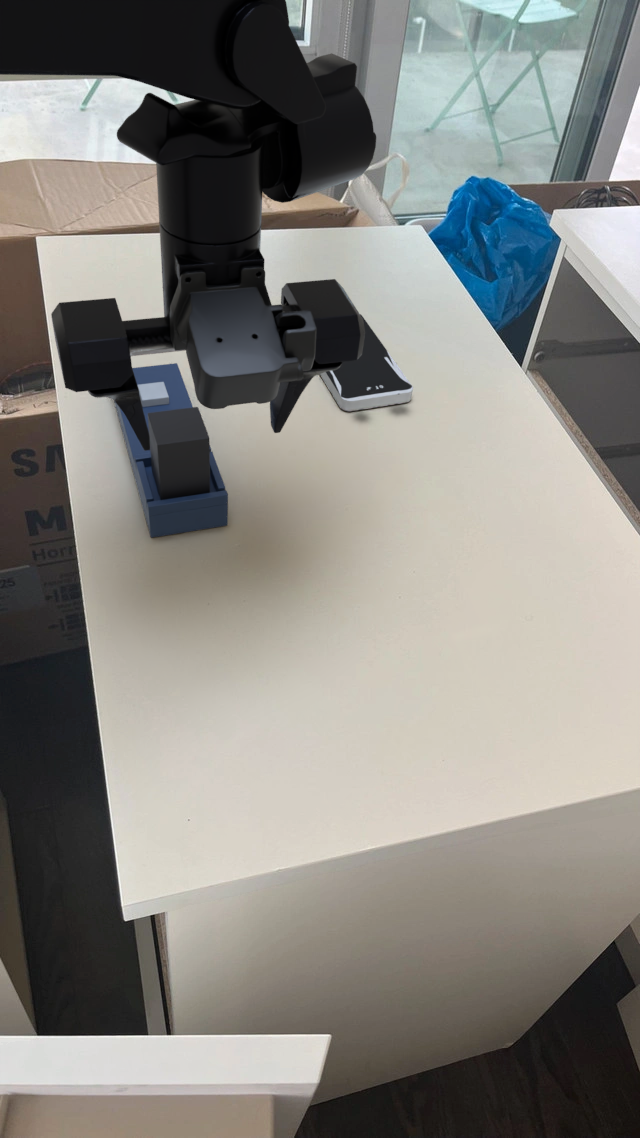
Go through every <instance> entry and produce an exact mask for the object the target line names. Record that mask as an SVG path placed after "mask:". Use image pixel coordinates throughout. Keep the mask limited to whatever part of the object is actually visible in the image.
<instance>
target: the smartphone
mask: <svg viewBox="0 0 640 1138" xmlns="http://www.w3.org/2000/svg"><path fill="white" fill-rule="evenodd" d="M359 314H360V315H361V317H362V318H363V321H364V328H365V338H364V345H363V351H362V355H361V356H360V357H359V358H358V359H357V360H354V361H345V362H342V365H341V366H340V367H339V368H338V369H337V370H332V371H327V372H324V373H321V374H319V376H320V378H321V379H322V381H323V382H324V384H325V385H326V387H327V390H329V392H330V394H331V396H332V397H333V399H334V400H335V402H336V404H337V405H338V407H339V409H341V410H342V411H345V412H355V411H362V410H367V409H368V410H369V409H374V408H381V407H387V406H393V405H399V404H405V403H406V404H407V403H410V402H411V401H412V398H413V397H412V396H413V392H414V386H413V384H412V383H411V382H410V381H409V379H408V378H407V376H406V375H405V374H404V372H403V370H402V369H401V368H400V366H399V365H398V363H397V362H396V361H395V359H394V358H393V357H392V355H391V354H390V352H389V351H388V350H387V348H386V346H384V344H383V343H382V341H381V340H380V338H379V337H378V336H377V335H376V333H375V331H373V328H372V327H371V326H370V324H369V323H368V322H367V320H366V319H365V318H364V316H363V315H362V314H361V313H359Z"/></svg>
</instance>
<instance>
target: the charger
mask: <svg viewBox="0 0 640 1138" xmlns="http://www.w3.org/2000/svg"><path fill="white" fill-rule="evenodd" d="M148 426H149V436H150V453H151V466H152V473H153V476H154V480H155V483H156V487H157V490H158V494H159V497H160V500H165V499H172V498H178V497H185V496H191V495H198V494H205V493H210V447H211V445H210V435H209V433H208V430H207V428H206V425H205V422H204V420H203V416H202V415H201V411H200V408H199V407H198V406H193V407H192V408H184V409H176V410H168V411H160V412H152V413H148Z"/></svg>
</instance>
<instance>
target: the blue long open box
mask: <svg viewBox="0 0 640 1138" xmlns="http://www.w3.org/2000/svg"><path fill="white" fill-rule="evenodd" d="M132 369H133V372H134V375H135V379H136V382H137V385H138V389H139V395H140V399H141V403H142V407H143V411H144V415H145V419H146V423H147V427H148V431H149V426H148V413H152V412H160V411H168V410H176V409H184V408H192V407H194V406H193V404H192V401H191V398H190V395H189V392H188V390H187V386H186V384H185V381H184V378H183V376H182V373H181V370H180V367H179V365H178V363H177V362H174V363H166V364H165V363H164V364H157V365H148V366H138V367H132ZM113 402H114V406H115V410H116V413H117V418H118V421H119V424H120V428H121V432H122V436H123V439H124V444H125V447H126V451H127V455H128V458H129V462H130V465H131V469H132V473H133V476H134V481H135V485H136V489H137V491H138V496H139V500H140V503H141V507H142V511H143V514H144V518H145V521H146V526H147V530H148V533H149V536H150V538H151V539H152V538H159V537H165V536H171V535H178V534H183V533H188V532H195V531H202V530H207V529H213V528H220V527H226V526H228V523H229V522H228V520H229V518H228V517H229V516H228V515H229V513H228V512H229V493H228V491H227V490H226V486H225V483H224V480H223V478H222V477H223V476H222V475H221V472H220V469H219V467H218V463H217V461H216V458H215V456H214V453H213V451H212V447H211V446H210V493H205V494H198V495H191V496H185V497H178V498H172V499H165V500H160V497H159V494H158V490H157V487H156V483H155V480H154V476H153V473H152V466H151V453H150V450H147V451H144V449H143V447H142V446H141V444H140V442H139V440H138V438H137V436H136V434H135V432H134V431H133V429H132V427H131V425H130V423H129V421H128V419H127V417H126V416H125V414H124V413H123V411H122V410H121V409H120V407H119V406H118V405H117V403H116V402H115V401H114V400H113Z"/></svg>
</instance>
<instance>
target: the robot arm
mask: <svg viewBox="0 0 640 1138" xmlns="http://www.w3.org/2000/svg"><path fill="white" fill-rule="evenodd" d="M357 73H358V65H357V64H356V63H355V62H353V61H351V60H349V59H346V58H344V57H341V56H339V55H337V54H335V53H328V54H327V53H326V54H324V55H320V56H319V55H318V56H317V57H315V58H314V59H312V60H310V61H308V62H307V61H306V59H305V57H304V55H303V52H302V50H301V49H300V46H299V44H298V41H297V40H296V38H295V36H294V32H293V31H292V28H291V27H290V17H289V12H288V6H287V1H286V0H0V75H1V76H3V75H4V76H9V75H10V76H12V75H13V76H23V75H24V76H88V77H89V76H90V77H91V76H97V77H98V76H99V77H101V76H102V77H103V76H105V77H118V78H124V79H127V80H132V81H135V82H139V83H142V84H145V85H148V86H150V87H154V88H157V89H160V90H163V91H166V92H169V93H172V94H175V95H178V96H182V97H184V98H188V99H191V100H188V101H184V102H180V103H176V104H175V103H174V104H173V103H172V102H169V101H168V100H166V99H164V98H162V97H161V96H158V95H156V94H154V93H153V92H147V93H145V95H144V97H143V99H142V101H141V103H140V105H139V106H138V108H137V109H136V110H135V111H134V112H132V113H131V114H129V115H128V116H127V117H126V118H125V120H124V121H123V122H122V124H121V125H120V127H118V129H117V130H116V139H117V140H118V142H120V143H121V144H123V145H125V146H126V147H127V148H130V149H131V150H133V151H134V152H137V153H138V154H140V155H142V156H144V157H145V158H147V159H149V160H150V161H152V162H153V163H155V165H156V167H155V168H156V183H157V184H156V186H157V203H158V204H157V205H158V221H159V222H158V223H159V224H158V225H159V241H160V243H159V245H160V262H161V263H160V264H161V282H162V283H161V284H162V301H163V316H161V317H151V318H140V319H129V320H128V319H127V320H123V319H122V315H121V312H120V309H119V305H118V303H117V299H116V297H111V298H110V297H109V298H96V299H85V300H75V301H73V300H72V301H63V302H62V301H61V302H58V303H57V305H56V306H55V308H54V309H53V311H52V312H51V313H50V316H51V322H52V328H53V335H54V340H55V341H54V342H55V346H56V351H57V355H58V359H59V365H60V371H61V373H62V378H63V385H64V388H65V389H67V390H70V391H72V392H75V393H82V392H88V395H90V396H92V397H93V398H96V399H98V398H99V399H101V398H108V399H111V400H112V401H113V402H114V401H115V402H116V403H117V405H118V406H119V407H120V409H121V410H122V411H123V413H124V414H125V416H126V417H127V419H128V421H129V423H130V425H131V427H132V429H133V431H134V432H135V434H136V436H137V438H138V440H139V442H140V444H141V446H142V447H143V449H144V451H147V450H150V436H149V431H148V427H147V423H146V419H145V415H144V411H143V407H142V403H141V399H140V395H139V389H138V385H137V382H136V379H135V375H134V372H133V369H132V368H133V366H132V365H133V364H132V357H136V356H137V357H138V356H147V355H155V354H164V353H165V354H166V353H175V352H185V353H186V358H187V361H188V367H189V370H190V373H191V377H192V382H193V387H194V393H195V396H196V399H197V401H198V402H199V403H200V404H201V405H202V407H205V408H206V409H209V410H221V409H225V408H227V407H230V406H231V407H232V406H239V405H247V404H252V403H253V404H254V403H255V404H258V405H261V404H267V403H269V415H270V416H269V417H270V426H271V429H272V431H273V433H274V434H279V433H281V432H282V430H283V428H284V426H285V425H286V422H287V421H288V419H289V417H290V415H291V413H292V412H293V411H294V408H295V407H296V404H297V403H298V400H300V397H301V396H302V394H303V392H304V390H305V389H306V388H307V386H308V385H309V384H310V382H311V381H312V380H313V378H314V377H316V376H318V375H319V376H320V374H321V373H324V372H327V371H332V370H337V369H338V368H339V367H340V366H341V365H342V362H345V361H354V360H357V359H358V358H359V357H360V356H361V355H362V351H363V345H364V338H365V328H364V321H363V318H364V317H363V318H362V317H361V315H362V314H361V313H360V312H359V311H358V309H357V307H356V306H355V304H354V302H353V301H352V298H350V296H349V295H348V293H347V292H346V290H345V288H344V287H343V286H342V285H341V284H340V283H339V282H338V280H337V279H335V278H332V279H331V278H330V279H320V280H309V281H308V280H305V281H297V282H295V281H294V282H286V283H285V284H284V285H283V287H282V288H281V290H280V291H281V293H280V294H281V295H280V304H272V301H271V299H270V295H269V291H268V289H267V286H266V285H267V284H266V270H265V258H264V256H263V254H262V252H261V243H262V242H261V238H262V237H261V236H262V216H263V215H262V214H263V213H262V212H263V194H264V195H265V196H266V197H267V198H268V199H270V200H271V201H274V202H278V203H283V204H284V203H290V202H294V201H295V200H299V199H301V198H304V197H307V196H310V195H313V194H316V193H319V192H321V191H325V190H328V189H330V188H334V187H336V186H339V185H341V184H345V183H347V182H350V181H353V180H356V179H358V178H359V177H361V176H363V175H364V173H366V171H367V170H368V169H369V167H370V165H371V164H372V161H373V159H374V155H375V152H376V148H377V134H376V133H375V131H374V122H373V118H372V114H371V111H370V108H369V105H368V103H367V101H366V99H365V97H364V96H363V94H362V93H361V91H360V90H359V88H358V87H357V86H356V82H357V81H356V80H357ZM360 314H361V315H360ZM115 402H114V403H115Z"/></svg>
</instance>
